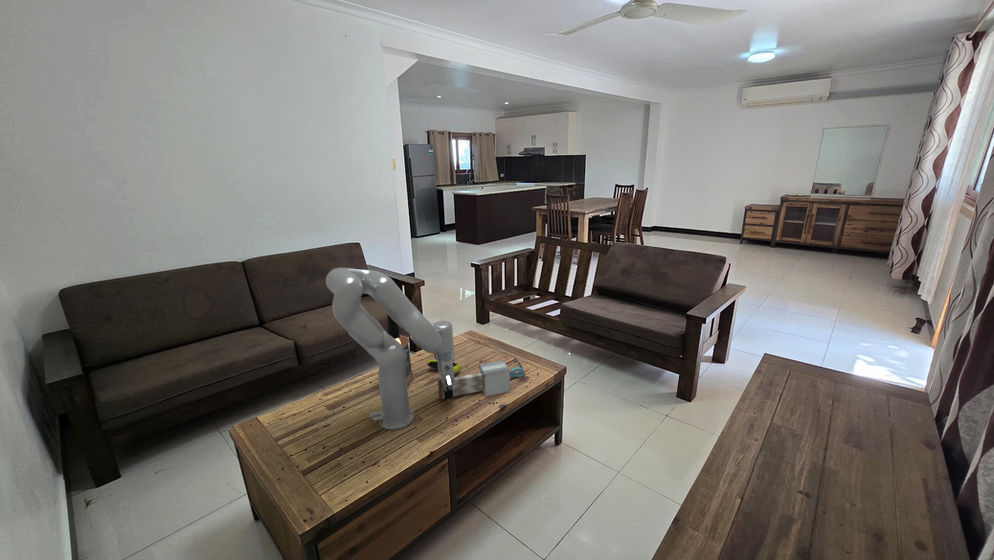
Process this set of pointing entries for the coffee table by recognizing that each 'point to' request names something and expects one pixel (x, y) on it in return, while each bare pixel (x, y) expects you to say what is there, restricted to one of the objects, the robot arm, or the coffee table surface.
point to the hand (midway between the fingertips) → (446, 392)
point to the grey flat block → (463, 385)
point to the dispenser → (495, 378)
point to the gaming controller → (434, 365)
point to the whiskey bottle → (394, 332)
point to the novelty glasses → (516, 370)
